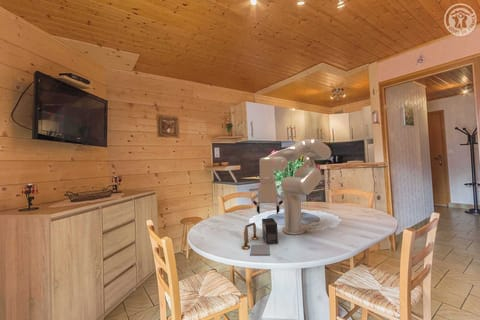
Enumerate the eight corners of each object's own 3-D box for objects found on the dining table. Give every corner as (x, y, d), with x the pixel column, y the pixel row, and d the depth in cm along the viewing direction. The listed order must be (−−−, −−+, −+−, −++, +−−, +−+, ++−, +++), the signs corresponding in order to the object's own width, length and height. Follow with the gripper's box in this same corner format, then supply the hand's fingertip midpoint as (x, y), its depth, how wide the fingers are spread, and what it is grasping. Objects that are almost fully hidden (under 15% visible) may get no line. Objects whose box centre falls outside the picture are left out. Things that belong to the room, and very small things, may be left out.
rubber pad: (269, 245, 113) (269, 244, 113) (270, 255, 102) (270, 254, 102) (251, 245, 114) (251, 244, 114) (250, 255, 103) (250, 254, 103)
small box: (262, 237, 125) (261, 218, 125) (273, 236, 125) (272, 217, 125) (265, 244, 114) (265, 224, 114) (278, 243, 115) (277, 223, 115)
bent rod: (259, 237, 124) (258, 221, 124) (248, 250, 109) (247, 231, 109) (251, 236, 126) (250, 220, 126) (238, 248, 111) (238, 230, 111)
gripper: (283, 179, 122) (284, 211, 122) (251, 180, 124) (252, 211, 124) (284, 181, 114) (285, 215, 115) (250, 182, 116) (251, 215, 116)
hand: (268, 213), depth 119 cm, fingers open, 9 cm apart
